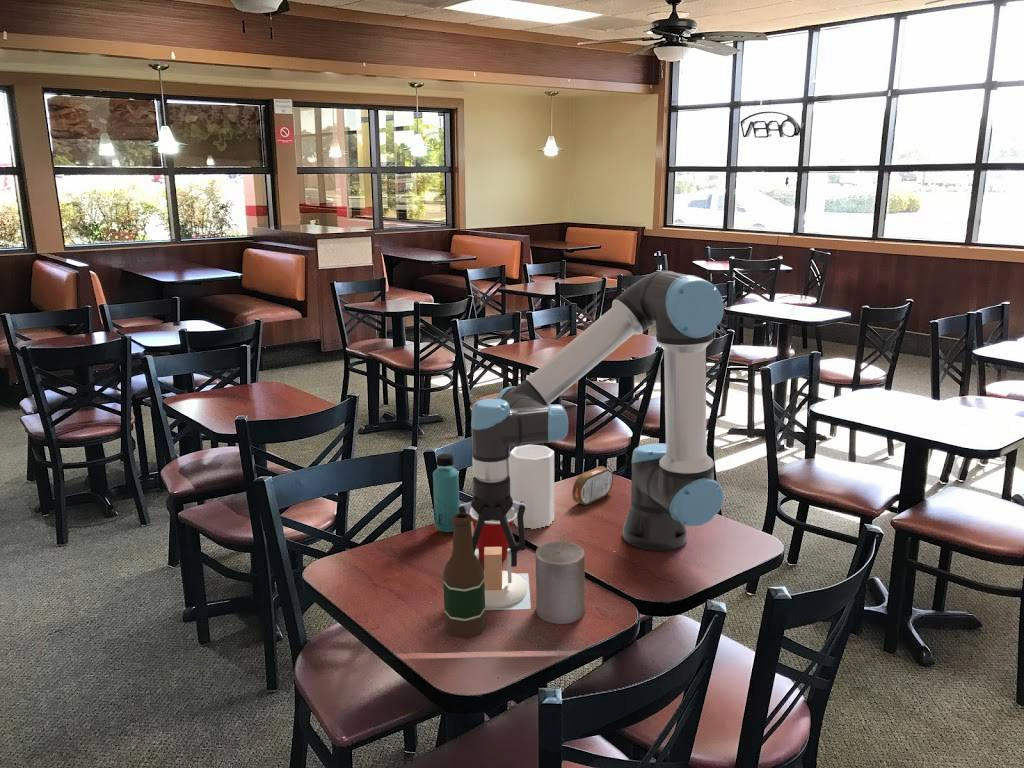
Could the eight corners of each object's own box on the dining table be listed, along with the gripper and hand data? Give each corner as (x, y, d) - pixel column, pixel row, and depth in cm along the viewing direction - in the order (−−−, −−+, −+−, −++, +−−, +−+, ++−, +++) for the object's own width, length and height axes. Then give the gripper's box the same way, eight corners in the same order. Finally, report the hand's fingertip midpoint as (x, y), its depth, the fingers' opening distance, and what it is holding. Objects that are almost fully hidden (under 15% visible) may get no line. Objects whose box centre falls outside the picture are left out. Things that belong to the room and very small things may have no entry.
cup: (563, 519, 207) (563, 450, 203) (535, 534, 199) (535, 462, 195) (529, 508, 214) (528, 441, 210) (501, 522, 206) (500, 452, 202)
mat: (528, 576, 178) (528, 573, 178) (530, 612, 164) (530, 608, 164) (459, 577, 178) (459, 574, 178) (456, 613, 164) (455, 610, 163)
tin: (605, 490, 226) (606, 461, 224) (615, 493, 224) (615, 464, 222) (571, 506, 215) (571, 476, 213) (580, 509, 213) (580, 479, 211)
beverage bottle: (465, 529, 202) (463, 452, 197) (452, 539, 197) (450, 461, 192) (442, 524, 205) (440, 449, 200) (429, 535, 199) (426, 457, 194)
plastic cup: (512, 572, 180) (512, 522, 177) (465, 568, 182) (463, 518, 179) (521, 550, 191) (521, 502, 188) (476, 547, 193) (475, 499, 190)
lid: (526, 574, 178) (525, 535, 175) (528, 607, 164) (528, 565, 162) (461, 575, 177) (460, 536, 175) (458, 609, 164) (457, 567, 162)
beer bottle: (445, 621, 161) (440, 508, 155) (484, 619, 161) (481, 506, 155) (445, 643, 153) (440, 525, 147) (486, 641, 154) (483, 523, 148)
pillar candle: (559, 597, 170) (559, 530, 166) (595, 614, 163) (595, 545, 159) (525, 614, 163) (524, 546, 159) (561, 633, 156) (560, 562, 152)
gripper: (538, 468, 168) (538, 571, 174) (445, 470, 168) (448, 572, 174) (539, 482, 161) (540, 588, 167) (442, 483, 161) (446, 590, 166)
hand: (493, 580), depth 170 cm, fingers open, 6 cm apart
